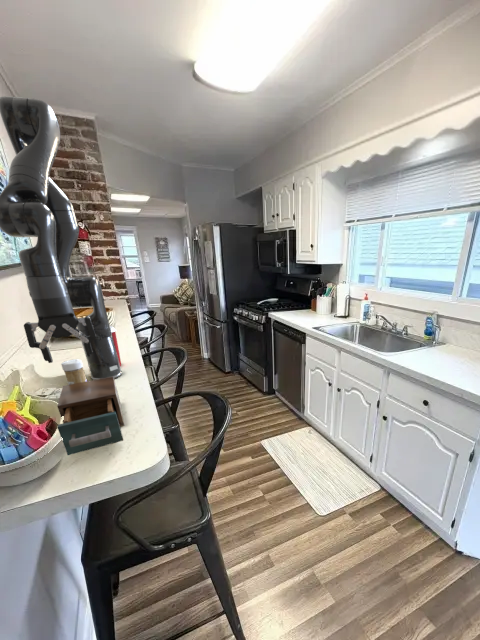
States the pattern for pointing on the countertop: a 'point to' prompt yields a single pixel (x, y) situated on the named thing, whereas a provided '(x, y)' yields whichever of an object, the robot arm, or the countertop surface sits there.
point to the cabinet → (90, 395)
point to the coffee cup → (115, 342)
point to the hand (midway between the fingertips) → (70, 359)
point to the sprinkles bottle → (74, 371)
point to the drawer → (90, 426)
